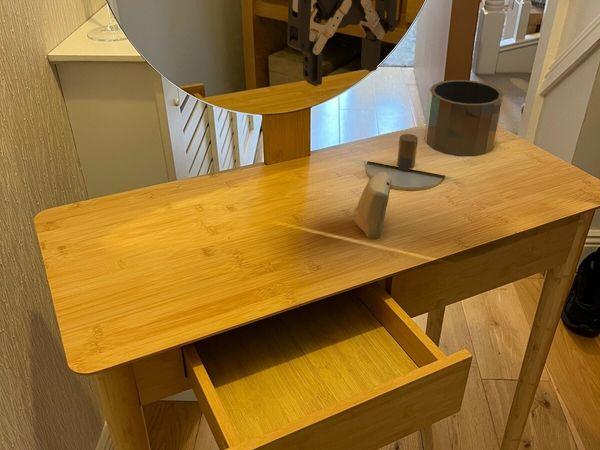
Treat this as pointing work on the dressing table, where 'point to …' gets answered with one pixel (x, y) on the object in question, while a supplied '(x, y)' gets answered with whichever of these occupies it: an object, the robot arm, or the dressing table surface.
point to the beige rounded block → (373, 205)
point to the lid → (406, 168)
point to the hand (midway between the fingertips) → (342, 76)
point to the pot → (463, 117)
